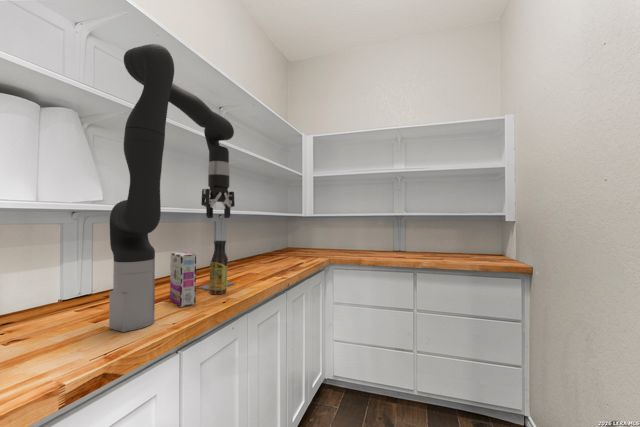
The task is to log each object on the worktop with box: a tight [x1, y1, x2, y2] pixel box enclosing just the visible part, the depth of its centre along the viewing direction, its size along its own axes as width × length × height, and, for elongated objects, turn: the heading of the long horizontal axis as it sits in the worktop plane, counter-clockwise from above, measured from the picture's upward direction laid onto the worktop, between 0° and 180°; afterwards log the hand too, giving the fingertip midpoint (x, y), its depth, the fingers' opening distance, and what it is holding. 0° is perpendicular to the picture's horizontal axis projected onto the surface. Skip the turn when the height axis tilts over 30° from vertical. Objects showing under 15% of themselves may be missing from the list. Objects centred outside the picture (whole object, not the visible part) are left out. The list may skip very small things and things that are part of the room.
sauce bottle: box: [209, 239, 229, 295], centre depth 107 cm, size 7×6×20 cm
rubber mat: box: [197, 281, 235, 292], centre depth 117 cm, size 12×8×1 cm, turn 155°
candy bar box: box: [169, 251, 197, 308], centre depth 95 cm, size 11×5×16 cm, turn 44°
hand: (218, 218), depth 107 cm, fingers open, 8 cm apart
